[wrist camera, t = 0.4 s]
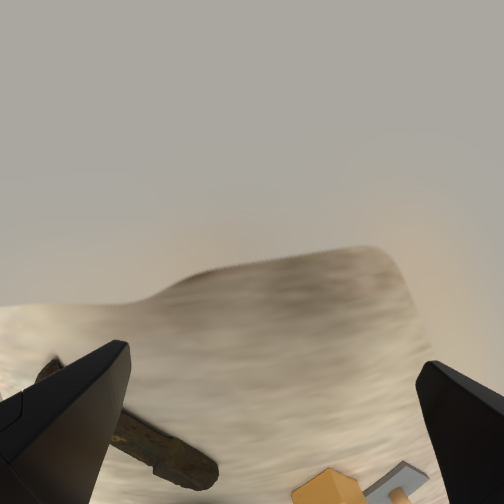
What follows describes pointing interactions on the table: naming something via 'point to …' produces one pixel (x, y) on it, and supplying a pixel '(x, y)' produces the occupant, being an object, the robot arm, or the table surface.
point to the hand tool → (158, 450)
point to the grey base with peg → (396, 485)
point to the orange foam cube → (329, 490)
